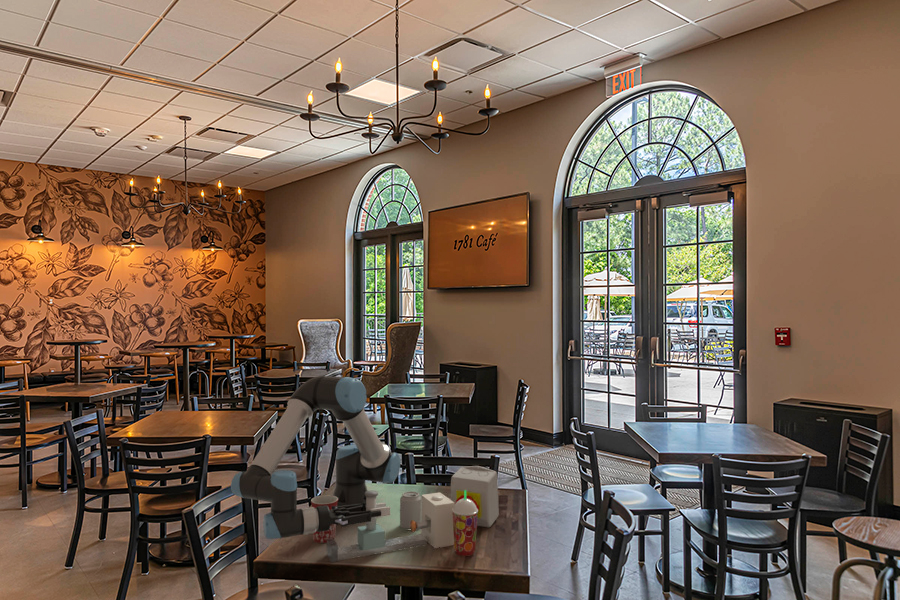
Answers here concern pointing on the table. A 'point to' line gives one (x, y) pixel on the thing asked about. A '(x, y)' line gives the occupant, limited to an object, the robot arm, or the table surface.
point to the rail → (356, 550)
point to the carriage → (371, 527)
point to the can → (410, 508)
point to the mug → (329, 501)
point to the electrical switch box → (477, 491)
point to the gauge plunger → (419, 525)
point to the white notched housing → (438, 519)
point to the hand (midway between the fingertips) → (387, 508)
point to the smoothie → (465, 526)
